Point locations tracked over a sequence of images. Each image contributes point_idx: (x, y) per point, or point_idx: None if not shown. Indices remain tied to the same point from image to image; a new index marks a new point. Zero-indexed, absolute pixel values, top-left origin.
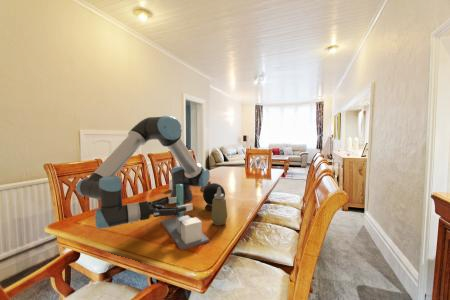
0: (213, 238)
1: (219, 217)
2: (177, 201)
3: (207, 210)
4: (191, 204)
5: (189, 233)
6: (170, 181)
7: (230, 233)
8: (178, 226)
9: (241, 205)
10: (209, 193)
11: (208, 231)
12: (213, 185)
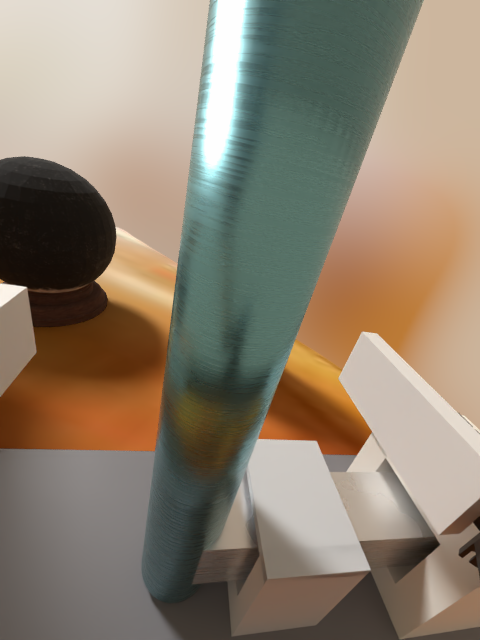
0: (362, 435)
1: None
2: (260, 401)
3: (49, 324)
4: (381, 342)
5: None
6: None
7: (326, 373)
8: (306, 606)
9: (127, 263)
10: (67, 224)
11: (288, 422)
12: (60, 171)
